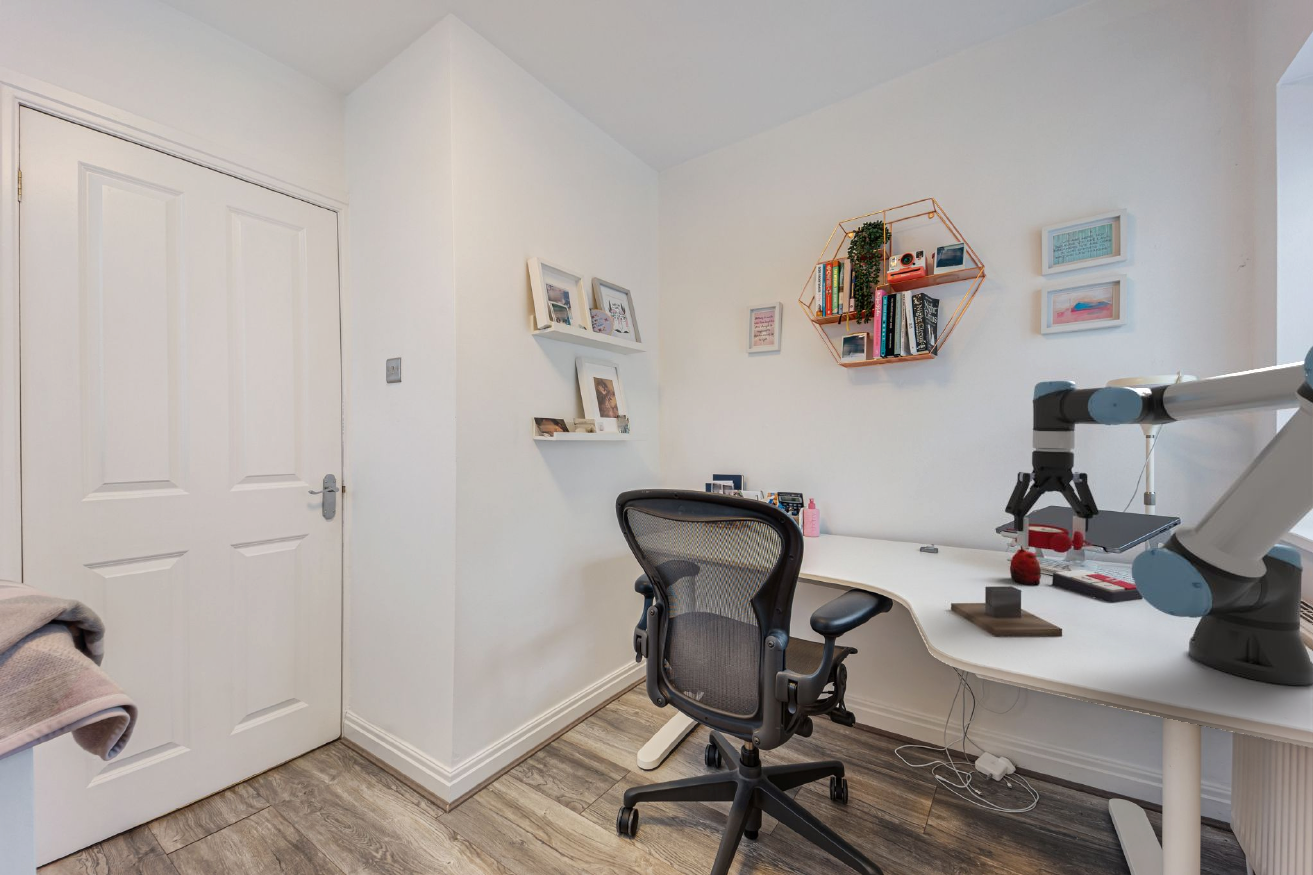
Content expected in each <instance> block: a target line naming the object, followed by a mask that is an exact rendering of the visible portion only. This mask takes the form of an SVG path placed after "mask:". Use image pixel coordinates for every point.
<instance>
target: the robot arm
mask: <svg viewBox="0 0 1313 875" xmlns="http://www.w3.org/2000/svg"><path fill="white" fill-rule="evenodd" d="M1288 409H1297V411H1296V412H1295V413H1294V414H1293V415H1292V416H1291V417H1290V419H1289V420H1288V421H1287V422H1286V423H1285V424H1284V425H1283V427H1281V428H1280V430H1278V432H1277V433H1276V434H1275V435H1274V436H1273V438H1271V440H1270V441H1269V442H1268V443H1267V445H1265V446H1264V448H1263V449H1262V450H1261V451H1260V453H1258V454H1257V456H1256V457H1255V458H1253V460H1252V461H1251V462H1250V464H1249V465H1248V466H1247V467H1246V468H1245V469H1244V471H1243V472H1242V473H1241V474H1240V475H1239V476H1238V477H1237V478H1236V479H1235V481H1234V482H1233V483H1231V485H1230V486H1229V487H1228V488H1227V490H1226V491H1225V492H1224V493H1223V494H1222V495H1221V497H1220V498H1219V499H1218V500H1217V501H1216V502H1215V503H1214V504H1213V506H1211V508H1210V509H1208V511H1207V512H1206V513H1205V515H1203V516H1202V518H1201V519H1200V520H1199V521H1198V522H1197V524H1196V525H1184V526H1180V527H1178V528H1177V529H1176V530H1175V531H1174V533H1172V534H1171V536H1170V537H1169V538H1168V539H1167V541H1166V542H1165V543H1164V544H1163V545H1162V546H1160V547H1151V548H1149V549H1145V550H1144V551H1142V552H1140V553H1139V554H1137V556H1135V558H1134V559H1133V561H1132V565H1131V577H1132V579H1133V580H1134V585H1135V586H1136V588H1137V590H1138V591H1139V593H1140V594H1141V596H1142V597H1143V600H1145V602H1147V603H1148V604H1149V605H1150V606H1152V607H1153V608H1154V609H1156V610H1158V611H1160V612H1161V613H1164V614H1166V615H1170V616H1174V617H1177V618H1187V617H1188V618H1191V619H1192V618H1193V619H1194V618H1196V619H1197V618H1200V620H1199V621H1198V623H1197V625H1196V628H1195V630H1194V632H1193V635H1192V636H1191V637H1190V639H1189V640H1188V641H1189V642H1188V654H1189V655H1190V656H1191V657H1192V658H1193V659H1195V660H1196V661H1198V662H1199V663H1201V664H1204V665H1205V666H1208V667H1211V668H1213V669H1216V670H1219V671H1222V672H1225V673H1228V674H1231V675H1234V676H1238V677H1242V678H1245V679H1249V680H1250V679H1251V680H1255V681H1261V682H1265V683H1272V684H1276V685H1277V684H1278V685H1285V686H1309V685H1312V684H1313V662H1312V660H1311V658H1310V655H1309V652H1308V650H1307V647H1306V644H1305V642H1304V639H1303V637H1302V635H1301V609H1302V608H1301V603H1302V602H1301V600H1302V576H1303V575H1302V572H1303V571H1304V567H1303V566H1302V556H1301V553H1300V552H1299V550H1297V549H1296V548H1294V547H1292V546H1289V545H1284V544H1279V542H1280V541H1281V540H1282V539H1283V538H1284V537H1285V536H1286V535H1287V534H1288V533H1289V532H1290V531H1291V530H1292V529H1293V528H1294V527H1295V526H1297V525H1298V523H1299V522H1300V521H1302V519H1304V517H1305V516H1307V514H1309V513H1310V512H1311V511H1312V510H1313V345H1312V346H1311V347H1310V348H1309V350H1308V351H1307V353H1306V356H1305V358H1304V360H1303V361H1299V362H1293V363H1289V364H1283V365H1276V366H1270V367H1264V368H1258V369H1253V370H1248V371H1247V370H1245V371H1242V372H1235V373H1230V374H1229V373H1228V374H1225V375H1223V374H1222V375H1218V376H1213V377H1212V376H1211V377H1206V378H1205V377H1204V378H1200V379H1195V380H1187V381H1182V382H1178V383H1177V382H1176V383H1171V384H1166V385H1160V386H1159V385H1158V386H1153V387H1144V388H1143V387H1141V388H1140V387H1139V388H1138V387H1137V388H1136V387H1129V386H1105V387H1093V388H1080V389H1079V388H1077V385H1076V383H1075V381H1071V380H1053V381H1052V380H1051V381H1048V380H1047V381H1041V382H1037V383H1036V384H1035V385H1034V390H1033V399H1032V412H1033V413H1032V414H1033V416H1032V419H1033V420H1032V421H1033V422H1032V423H1033V424H1032V448H1033V449H1035V450H1033V451H1032V452H1031V466H1032V471H1031V472H1023V471H1019V472H1018V473H1017V478H1016V479H1017V480H1016V484H1015V486H1014V488H1013V491H1012V493H1011V495H1010V498H1009V500H1008V502H1007V503H1006V507H1005V508H1004V512H1005V513H1007V514H1009V515H1012V516H1013V520H1014V521H1013V529H1015V530H1016V537H1017V543H1016V545H1019V546H1020V547H1021V546H1022V547H1023V548H1028V547H1029V546H1028V530H1029V524H1030V520H1029V519H1030V517H1026V515H1027V514H1028V513H1029V512H1030V510H1031V509H1032V508H1033V507H1034V505H1035V504H1036V503H1037V501H1038V500H1039V499H1040V497H1041V496H1042V495H1044V494H1045V493H1046V492H1047V493H1050V492H1051V493H1052V492H1058V493H1061V494H1062V496H1063V498H1064V499H1065V500H1066V501H1067V503H1068V504H1069V506H1070V507H1071V509H1072V510H1073V512H1074V513H1075V514H1076V515H1075V516H1074V515H1073V516H1072V535H1071V536H1072V537H1071V541H1073V537H1074V533H1075V531H1078V532H1081V533H1082V534H1083V538H1084V541H1086V533H1088V532H1089V520H1091V519H1093V517H1094V516H1098V515H1099V512H1100V511H1099V509H1098V506H1097V504H1096V502H1095V499H1094V496H1093V494H1092V490H1091V489H1090V485H1089V484H1088V474H1087V473H1086V472H1079V471H1075V472H1073V470H1072V469H1073V468H1074V467H1075V465H1074V463H1075V453H1074V452H1073V451H1072V450H1074V449H1075V430H1076V425H1106V426H1112V425H1113V426H1120V425H1153V426H1155V425H1157V426H1158V425H1167V424H1172V423H1173V424H1174V423H1175V422H1179V421H1187V420H1196V419H1206V418H1214V417H1215V418H1216V417H1223V416H1234V415H1243V414H1252V413H1260V412H1261V413H1262V412H1267V411H1268V412H1270V411H1271V412H1272V411H1280V410H1288ZM1032 481H1033V483H1032V484H1031V482H1032ZM1071 482H1073V484H1074V487H1075V488H1073V486H1072V485H1071ZM1030 484H1031V485H1030ZM1028 490H1029V491H1028ZM1075 490H1076V492H1077V494H1076V492H1075ZM1026 493H1027V494H1026ZM1083 545H1086V543H1083ZM1082 548H1086V546H1083V547H1082Z"/></svg>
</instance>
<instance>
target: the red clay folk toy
mask: <svg viewBox="0 0 1313 875" xmlns="http://www.w3.org/2000/svg"><path fill="white" fill-rule="evenodd" d="M1009 572H1010V578H1011V580H1012V581H1014V582H1015V583H1019V584H1022V585H1023V584H1024V585H1031V586H1033V585H1037V586H1038V585H1040V584H1041V581H1040V580H1041V579H1042V578H1041V577H1042V574H1041V573H1042V572H1041V565H1040V562H1039V560H1038V558H1037V556H1036V554H1034V553H1033V552H1029V551H1027V550H1025V549H1024V547H1023V546H1021V545H1020V549H1017V551H1016V552H1015V553H1014V554H1013V556H1012V558H1011V561H1010V565H1009Z"/></svg>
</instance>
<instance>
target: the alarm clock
mask: <svg viewBox="0 0 1313 875" xmlns="http://www.w3.org/2000/svg"><path fill="white" fill-rule="evenodd" d="M1006 530H1007V531H1014V532H1015V531H1016V530H1015V529H1014V528H1008V527H1007V528H1006ZM1016 532H1017V531H1016ZM1069 535H1070V533H1069V530H1068V529H1066V528H1064V527H1060V526H1055V525H1050V524H1049V525H1048V524H1039V523H1038V524H1037V523H1029V530H1028V547H1030V548H1035V549H1042V550H1051V551H1054V552H1056V553H1059V554H1060V553H1061V554H1064V553H1067V552H1068V551H1070V549H1073V550H1074V551H1080V550H1082V549H1083V548H1084V547H1083V546H1085V547H1090V546H1092V545H1093V543H1091V542H1087V540H1085V541H1084V538H1083V534H1082V533H1081V532H1078V531H1075V533H1074V537H1073V541H1072V538H1070V536H1069ZM1014 542H1015V543H1016V544H1017V536H1016V537H1015V540H1014ZM1083 543H1085V545H1083Z"/></svg>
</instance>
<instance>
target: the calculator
mask: <svg viewBox="0 0 1313 875" xmlns="http://www.w3.org/2000/svg"><path fill="white" fill-rule="evenodd" d="M1051 582H1052V583H1051V586H1054V587H1057V588H1059V589H1064V590H1067V591H1072V592H1075V593H1078V594H1080V595H1081V594H1082V595H1083V596H1084V595H1085V596H1087V597H1089V598H1090V597H1091V598H1093V597H1095V598H1094V599H1096V600H1100V599H1101V601H1104V602H1107V603H1111V604H1112V603H1121V602H1129V601H1136V600H1144V598H1143V597H1142V596H1141V594H1140V593H1139V591H1138V590H1137V588H1136V586H1135V583H1131V582H1128V581H1127V582H1126V581H1124V580H1120V579H1118V578H1114V577H1111V576H1108V575H1104V574H1101V573H1096V572H1092V571H1089V570H1086V569H1075V570H1065V571H1056V572H1053V573H1052V581H1051Z"/></svg>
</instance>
